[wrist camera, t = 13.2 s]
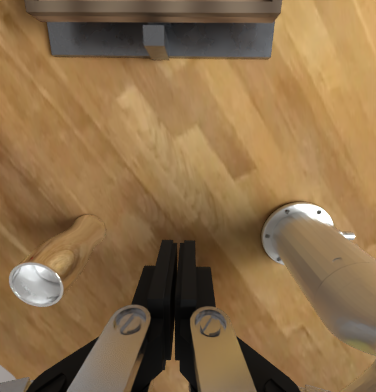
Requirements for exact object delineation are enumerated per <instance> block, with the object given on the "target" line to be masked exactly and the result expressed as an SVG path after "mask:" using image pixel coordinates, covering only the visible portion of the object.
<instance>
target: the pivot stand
mask: <svg viewBox="0 0 376 392" xmlns="http://www.w3.org/2000/svg"><path fill="white" fill-rule="evenodd" d="M274 24H275V21H274V22H273V23H166V22H47V26H48V32H49V39H50V45H51V52H52V55H53V56H55V57H107V58H152V60H169V58H203V59H269V58H270V57H271V50H272V41H273V32H274Z"/></svg>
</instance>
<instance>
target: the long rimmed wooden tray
mask: <svg viewBox="0 0 376 392" xmlns="http://www.w3.org/2000/svg"><path fill="white" fill-rule="evenodd" d="M24 1H25V7H26V12H27V13H29V14H30V15H32V16H33V17H35V18H36V19H38V20H39V21H41V22H166V23H273V22H274V21H275V19H276V18H277V17H278V15H279V14H280V13H281V5H282V0H24Z"/></svg>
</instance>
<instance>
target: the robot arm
mask: <svg viewBox="0 0 376 392" xmlns="http://www.w3.org/2000/svg"><path fill="white" fill-rule="evenodd" d="M285 210H286V211H285ZM354 238H355V235H354V233H353V232H341V231H340V230H338V229H337V228H335V227H334V225H333V221H332V219H331V217H330V216H329V214H328V213H327V212H326V211H325V210H324V209H322V208H321V207H319V206H317V205H315V204H312V203H308V202H295V203H290V204H287V205H284V206H282V207H281V208H279V209H277V210H276V211H275V212H273V213H272V214H271V215H270V217H269V218H268V219H267V221H266V222H265V224H264V226H263V229H262V234H261V240H262V244H263V247H264V249H265V251H266V253H267V254H268V256H269V257H270V258H271V259H273V260H274V261H276V262H277V263H280V264H282V265H285V266H286V268H287V269H288V271H289V272H290V274H291V275H292V277H293V278H294V280H295V281H296V283H297V284H298V286H299V287H300V289H301V290H302V292H303V293H304V295H305V296H306V298H307V299H308V301H309V302H310V304H311V305H312V307H313V308H314V310H315V311H316V313H317V314H318V316H319V317H320V319H321V320H322V322H323V323H324V325H325V326H326V327H327V328H328V330H329V331H330V332H331V333H332V334H333V335H334V336H336V337H337V338H338V339H340V340H341V341H342V342H344V343H346V344H348V345H349V346H351V347H353V348H356V349H358V350H360V351H363V352H365V353H368V354H371V355H374V356H376V259H374V258H373V257H372V256H370V255H369V254H368V253H366V252H365V251H364V250H362V249H361V248H359V246H358V245H357V244H355V243H353V242H351V241H350V240H353V239H354ZM174 320H175V360H180V372H181V373H182V375H183V376H184V377H185V378H186V379H187V380H188V381H189V392H330V391H327V390H323V389H319V388H316V387H312V386H309V385H305V388H301V387H298V386H297V385H296V384H295V383H294V382H293V381H292V380H291V379H290V378H289V377H288V376H286V375H285V374H284V373H283V372H281V371H280V370H279V369H277V368H276V367H275V366H274V365H272V364H271V363H270V362H269V361H267V360H266V359H265V358H264V357H262V356H261V355H260V354H258V353H257V352H256V351H255V350H253V349H252V348H251V347H250V346H248V345H247V344H246V343H244V342H243V341H242V340H241V339H239V338H238V337H237V336H236V335H235V332H234V329H233V327H232V324H231V321H230V319H229V317H228V316H227V314H225V313H224V312H223V311H222V310H220V309H218V308H216V306H215V298H214V290H213V283H212V275H211V268H210V267H196V261H195V241H188V240H184V243H180V250H179V261H178V271H177V243H173V240H162V243H161V246H160V250H159V254H158V258H157V262H156V266H144V268H143V271H142V274H141V277H140V280H139V283H138V286H137V289H136V292H135V295H134V298H133V301H132V304H131V305H128V306H125V307H123V308H120V309H119V310H118V311H116V312H115V313H114V314H113V316H112V317H111V318H110V320H109V322H108V323H107V325H106V327H105V328H104V330H103V332H102V333H101V335H100V336H99V337H98V338H96V339H94V340H93V341H91V342H90V343H88V344H87V345H85V346H83V347H82V348H80V349H79V350H77V351H76V352H74V353H73V354H71V355H69V356H68V357H66V358H65V359H63V360H62V361H60V362H58V363H57V364H55V365H54V366H52V367H51V368H49V369H48V370H46V371H45V372H43V373H42V374H41V375H39V376H38V377H37V378H36V379H35V380H31V381H30V378H29V377H27V378H22V379H17V380H12V381H8V382H3V383H0V392H152V388H153V383H154V378H155V377H156V376H157V375H158V374H159V373H160V372H162V370H165V364H166V360H171V354H172V343H173V332H174ZM340 392H376V360H375V362H374V363H373V364H372V365H371V366H370V367H369V368H368V369H366V370H365V371H364V373H363V374H362V375H360V376H359V377H358V378H357V379H355V380H354V381H353V382H351V383H350V384H349V385H348V386H346V387H345V388H344V389H343V390H341V391H340Z"/></svg>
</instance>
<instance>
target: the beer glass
mask: <svg viewBox="0 0 376 392" xmlns="http://www.w3.org/2000/svg"><path fill="white" fill-rule="evenodd" d="M105 236H106V227H105V225H104V223H103V222H102V221H101V220H100V219H99V218H98V217H96V216H93V215H83V216H80V217H79V218H77V219H76V220H75V222H74V223H73V225H72V226H71V227H70V228H69V229H68V230H66V231H64V232H62V233H60V234H58V235H56V236H54V237H52V238H50V239H48V240H47V241H45V242H44V243H42V244H41V245H40V246H38V247H37V248H36V249H34V250H33V251H32V252H31V253H30V254H29V255H28V256H27V257H26V258H25V259H24V260H23V261H22V262H21V263H19V264H18V265H17V266H16V267H15V268H14V269H13V270H12V271H11V273H10V276H9V284H10V287H11V289H12V291H13V292H14V294H15V295H16V296H17V297H18V298H19V299H21V300H22V301H24V302H25V303H27V304H30V305H33V306H38V307H46V306H51V305H53V304H55V303H57V302H58V301H59V300H60V299H61V297H62V296H63V295H64V294H65V293H66V292H67V291H68V290H69V288H70V287H71V286H72V285H73V284H74V283H75V281H76V280H77V279H78V277H79V276H80V275H81V273H82V272H83V270H84V268H85V266H86V264H87V262H88V260H89V258H90V255H91V253H92V251H93V249H94V247H95V246H96V245H98V244H99V243H100V242H102V241H103V240H104V238H105Z"/></svg>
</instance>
